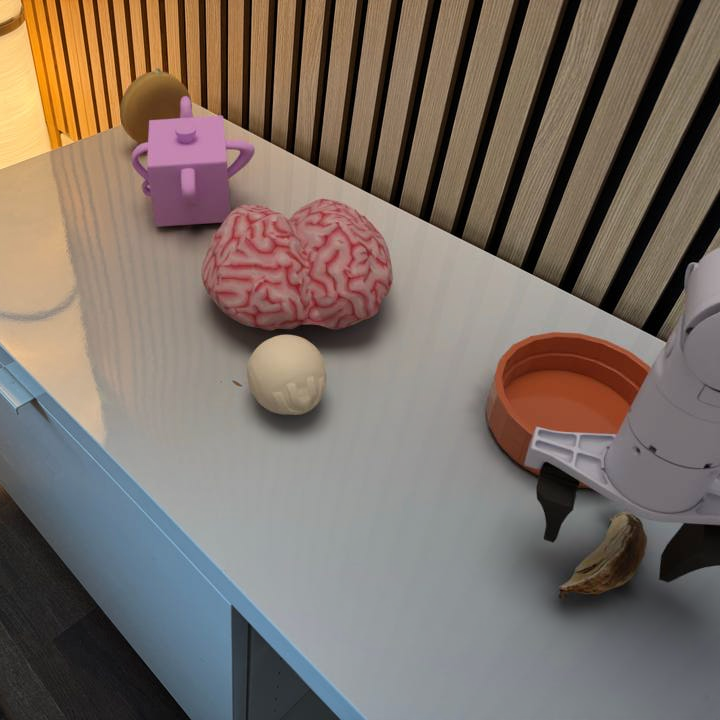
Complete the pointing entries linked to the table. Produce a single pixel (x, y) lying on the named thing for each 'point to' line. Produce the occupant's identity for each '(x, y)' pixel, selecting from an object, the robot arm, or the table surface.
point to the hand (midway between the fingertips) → (606, 549)
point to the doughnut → (150, 102)
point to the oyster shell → (610, 558)
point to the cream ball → (287, 375)
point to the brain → (298, 267)
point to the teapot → (189, 168)
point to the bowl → (561, 389)
